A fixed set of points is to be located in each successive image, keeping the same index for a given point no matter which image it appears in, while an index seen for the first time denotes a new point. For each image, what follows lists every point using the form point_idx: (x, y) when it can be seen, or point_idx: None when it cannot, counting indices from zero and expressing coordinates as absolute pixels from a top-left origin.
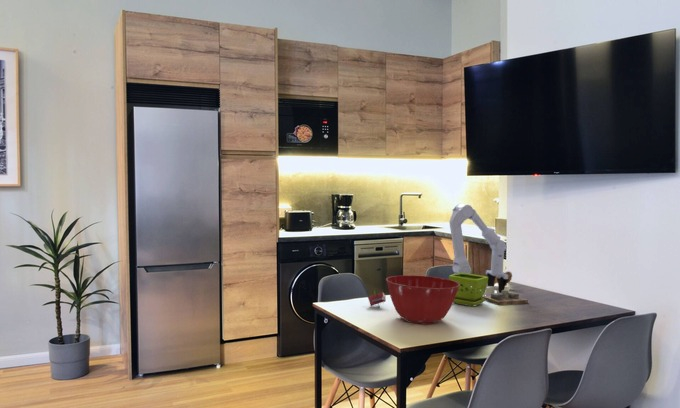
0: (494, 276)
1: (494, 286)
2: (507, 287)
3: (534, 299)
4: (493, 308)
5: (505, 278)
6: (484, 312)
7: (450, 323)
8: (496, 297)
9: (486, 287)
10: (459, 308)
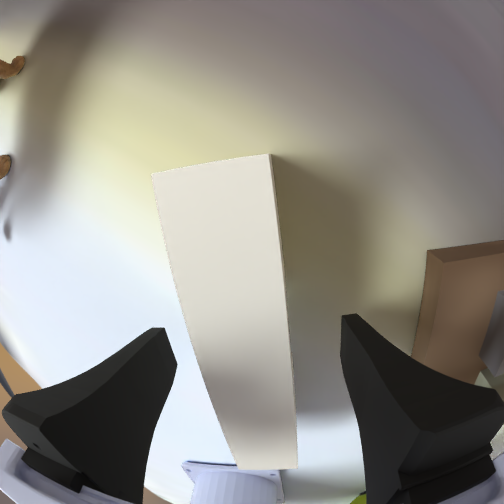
0: (71, 441)
1: (231, 391)
2: (274, 198)
3: (494, 58)
4: (499, 432)
5: (500, 474)
6: (497, 453)
7: None
8: None
9: (284, 464)
10: None
